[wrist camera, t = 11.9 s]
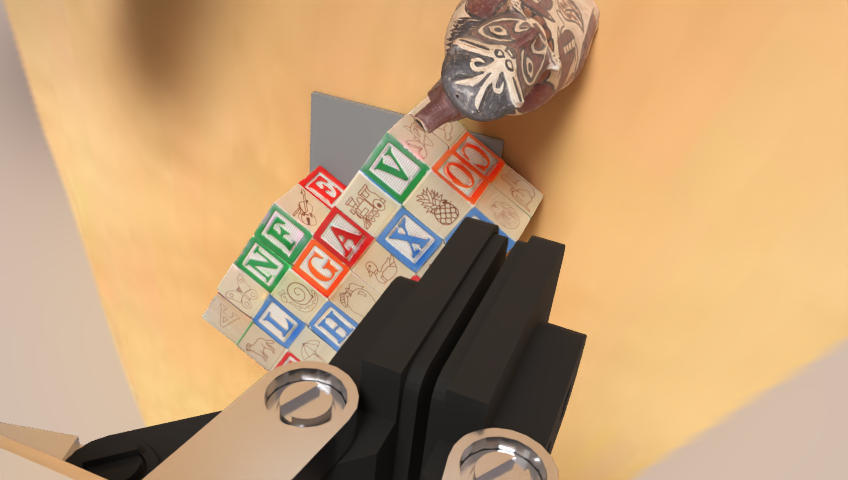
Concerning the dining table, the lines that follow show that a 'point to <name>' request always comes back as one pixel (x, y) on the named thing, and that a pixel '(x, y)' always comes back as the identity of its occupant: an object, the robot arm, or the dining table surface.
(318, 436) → the robot arm
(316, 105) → the mat
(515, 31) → the figurine
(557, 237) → the dining table surface
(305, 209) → the stack of blocks
